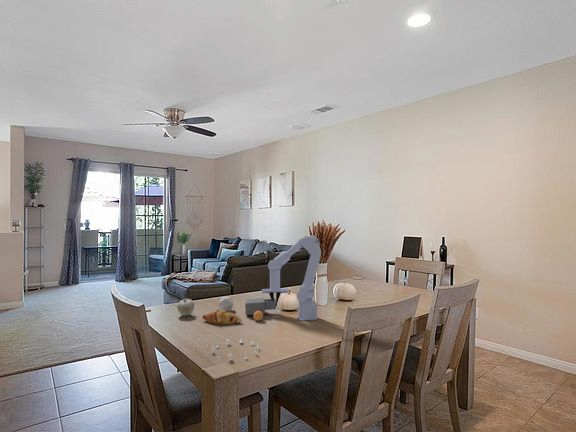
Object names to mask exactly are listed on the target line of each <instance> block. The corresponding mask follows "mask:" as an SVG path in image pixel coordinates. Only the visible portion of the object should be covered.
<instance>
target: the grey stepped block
mask: <svg viewBox="0 0 576 432" xmlns="http://www.w3.org/2000/svg"><path fill="white" fill-rule="evenodd" d="M244 303H245V304H244V305H245V307H244V308H245V309H244V310H245V316H254V313H255V312H256V311H261V312H262V313H263V315H265V314H266V311H270V310H277V306H276V298H274V301H272V300H271V298H265V297H258V298H246V300H245V302H244Z"/></svg>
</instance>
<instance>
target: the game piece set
mask: <svg viewBox="0 0 576 432" xmlns="http://www.w3.org/2000/svg"><path fill="white" fill-rule="evenodd" d="M230 342H231V340H230V339H226V345H227V346H230ZM239 344H244V339H243V337H241V338H240V339H239ZM256 344H257V346H255V342H254V341H253V340H252V341H250V346H251V347H252V346H254V347H253V349H254V352H253V353H252V356H258V355H259V353H257V350H258V351H259V349H260V347H259V341H256ZM216 349H220V346H219V345H218V343H217V344H216V346H214V345H213V346H211V349H210V350H211V354H214V353H215V350H216ZM244 350H245V349H244ZM245 352H247V349H246V350H245ZM215 357H216V359H218V360H219V359H220V356H218V355H217V354H215ZM227 357H228V361H230V362H231V361H232V359H233V354H232V353H229V354H228V355H227ZM248 358H249V357H248V356H245V357H244V360H245V361H246V360H249V359H248Z"/></svg>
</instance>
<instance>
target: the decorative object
mask: <svg viewBox="0 0 576 432" xmlns="http://www.w3.org/2000/svg"><path fill="white" fill-rule="evenodd" d="M194 310H195V303H194V301H193V300H192V299H191V298H186V297H184V298H183V299H181V300H180V301H178V303H177V311H178V314H180V315H181V316H183V317H189V316H190V315H192V313H193V312H194Z"/></svg>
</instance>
